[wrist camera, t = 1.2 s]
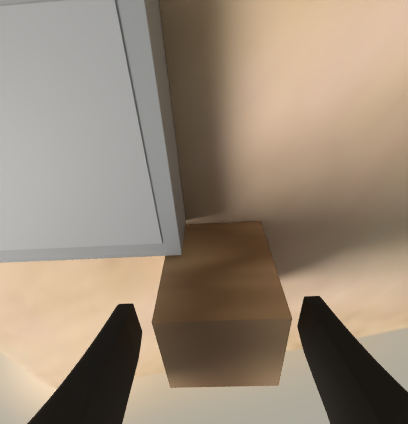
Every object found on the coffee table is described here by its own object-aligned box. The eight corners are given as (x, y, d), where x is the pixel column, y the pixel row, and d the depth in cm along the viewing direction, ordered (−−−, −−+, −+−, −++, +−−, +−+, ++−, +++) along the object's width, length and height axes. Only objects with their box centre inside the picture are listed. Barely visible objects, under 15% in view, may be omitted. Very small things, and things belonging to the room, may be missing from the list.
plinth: (156, -19, 8) (136, -48, 6) (185, 221, 12) (181, 255, 10) (-119, 5, 8) (-238, -14, 6) (12, 229, 13) (-27, 264, 11)
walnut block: (260, 220, 13) (292, 318, 8) (256, 282, 15) (278, 385, 10) (171, 224, 13) (151, 322, 8) (181, 285, 15) (170, 387, 10)
